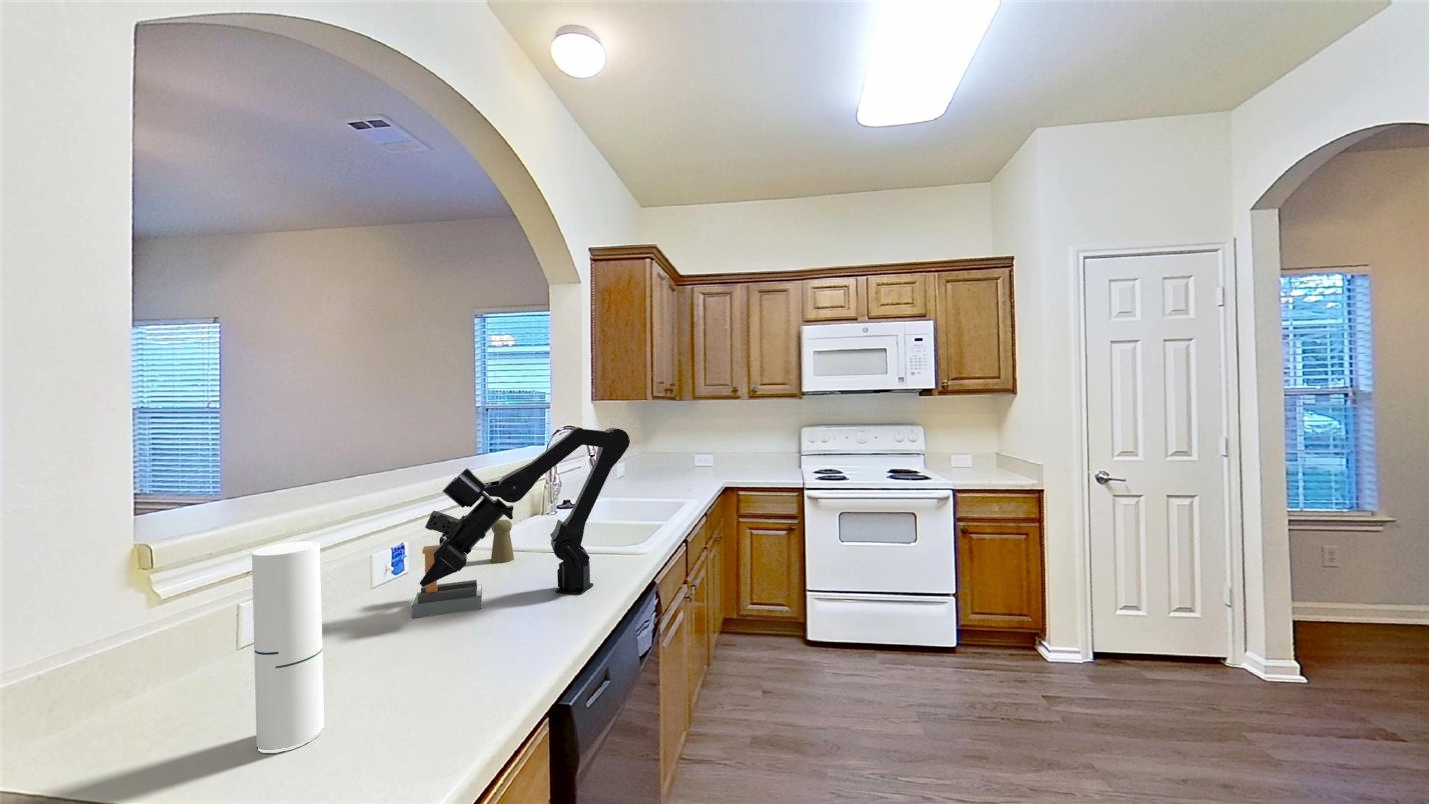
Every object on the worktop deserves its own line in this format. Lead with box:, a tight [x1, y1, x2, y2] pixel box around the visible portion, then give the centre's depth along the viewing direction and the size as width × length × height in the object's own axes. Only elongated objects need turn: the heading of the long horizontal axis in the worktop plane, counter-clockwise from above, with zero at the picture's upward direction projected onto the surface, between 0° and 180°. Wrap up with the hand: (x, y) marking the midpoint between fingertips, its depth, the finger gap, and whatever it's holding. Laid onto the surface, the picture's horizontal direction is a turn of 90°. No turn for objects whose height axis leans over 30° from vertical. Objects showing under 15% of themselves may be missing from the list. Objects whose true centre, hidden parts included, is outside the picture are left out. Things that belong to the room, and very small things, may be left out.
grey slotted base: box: [411, 579, 483, 619], centre depth 123 cm, size 13×9×4 cm
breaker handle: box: [421, 544, 440, 593], centre depth 121 cm, size 3×3×10 cm
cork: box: [490, 519, 515, 564], centre depth 158 cm, size 6×6×11 cm
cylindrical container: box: [251, 540, 325, 750], centre depth 75 cm, size 7×7×25 cm
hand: (423, 578), depth 121 cm, fingers open, 9 cm apart
